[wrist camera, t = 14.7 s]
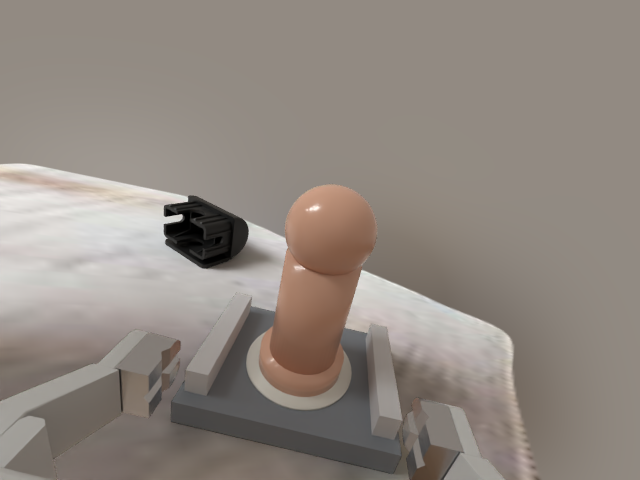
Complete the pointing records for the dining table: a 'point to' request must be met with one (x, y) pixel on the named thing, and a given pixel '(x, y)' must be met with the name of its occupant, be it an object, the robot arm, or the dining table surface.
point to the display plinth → (291, 411)
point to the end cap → (204, 232)
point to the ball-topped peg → (317, 289)
